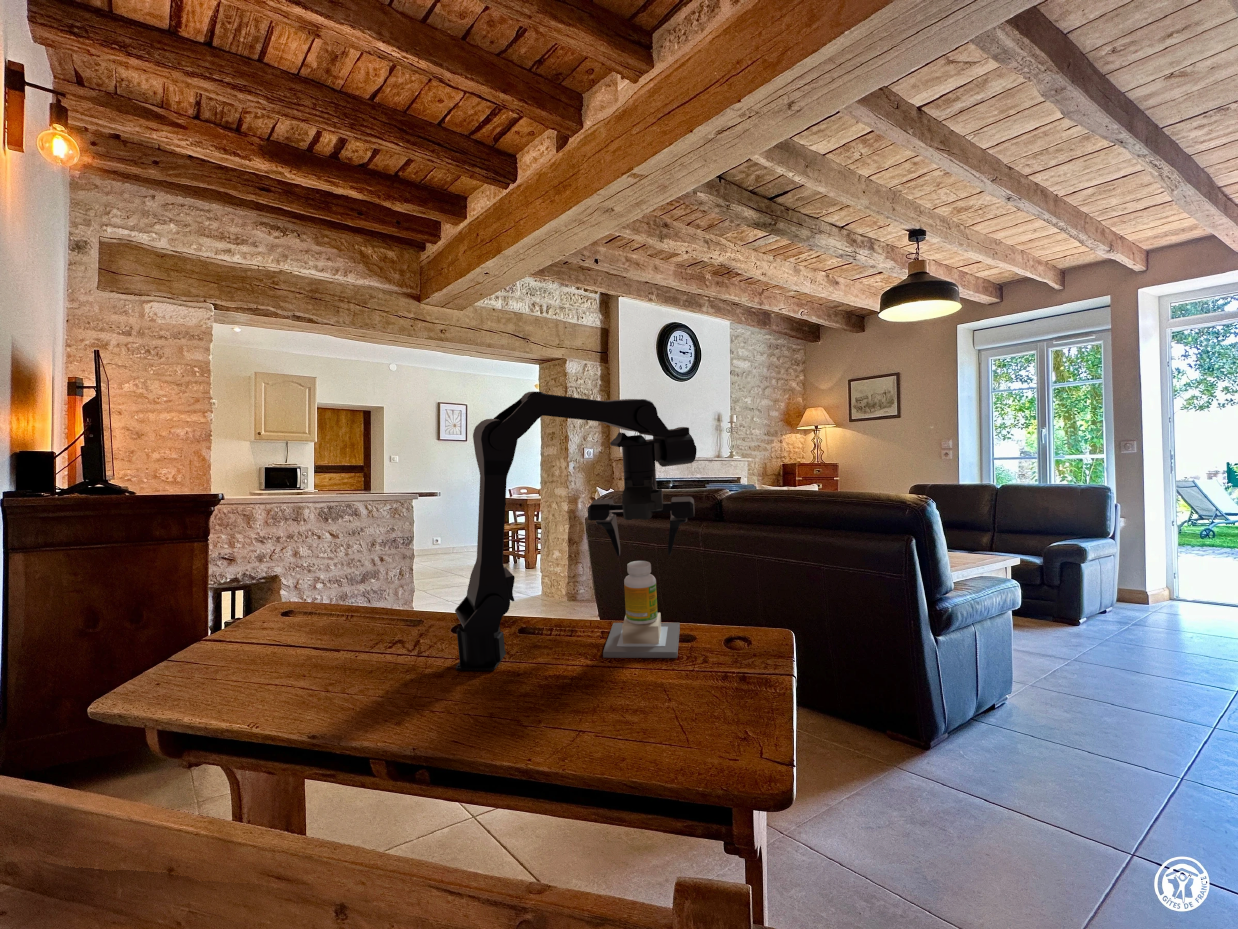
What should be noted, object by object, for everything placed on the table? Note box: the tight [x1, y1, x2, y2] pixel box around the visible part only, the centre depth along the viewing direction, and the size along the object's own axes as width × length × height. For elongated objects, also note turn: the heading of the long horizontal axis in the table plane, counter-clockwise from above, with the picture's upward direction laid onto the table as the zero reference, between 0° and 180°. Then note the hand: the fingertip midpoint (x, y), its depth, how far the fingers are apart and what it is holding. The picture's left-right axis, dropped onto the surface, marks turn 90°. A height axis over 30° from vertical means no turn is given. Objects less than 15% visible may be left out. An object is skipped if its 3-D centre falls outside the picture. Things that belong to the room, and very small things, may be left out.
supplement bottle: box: [623, 560, 659, 624], centre depth 106 cm, size 5×5×10 cm
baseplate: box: [602, 622, 681, 659], centre depth 107 cm, size 12×12×1 cm
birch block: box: [622, 612, 662, 644], centre depth 106 cm, size 6×6×3 cm
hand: (644, 555), depth 113 cm, fingers open, 9 cm apart
